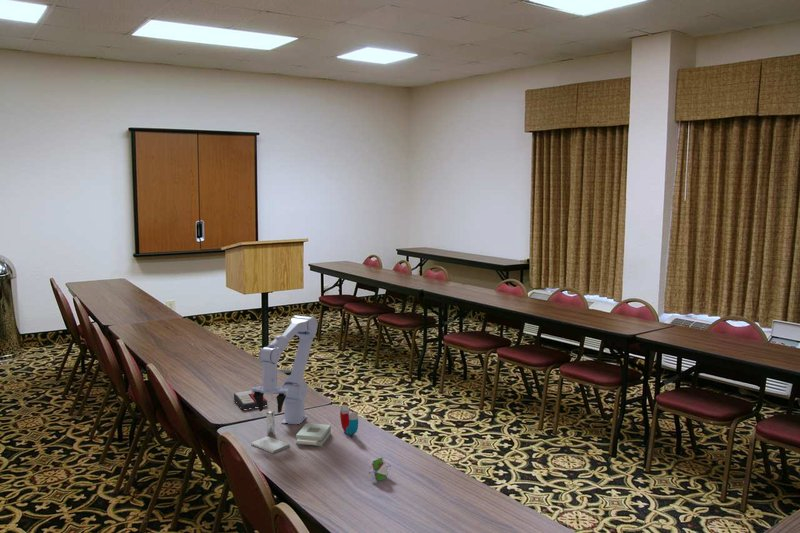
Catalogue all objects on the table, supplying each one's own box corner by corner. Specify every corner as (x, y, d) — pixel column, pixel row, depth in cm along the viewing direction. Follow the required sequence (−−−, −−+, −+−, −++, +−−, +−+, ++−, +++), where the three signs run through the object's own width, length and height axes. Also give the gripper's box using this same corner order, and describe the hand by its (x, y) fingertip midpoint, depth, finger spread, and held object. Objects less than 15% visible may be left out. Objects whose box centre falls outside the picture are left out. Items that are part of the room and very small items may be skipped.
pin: (268, 432, 248) (268, 410, 246) (275, 432, 247) (275, 411, 246) (265, 435, 245) (265, 413, 244) (272, 435, 244) (272, 413, 243)
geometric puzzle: (361, 470, 211) (371, 456, 207) (376, 463, 216) (386, 450, 211) (373, 488, 207) (383, 474, 203) (388, 481, 212) (398, 468, 208)
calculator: (242, 403, 270) (233, 391, 283) (242, 412, 271) (233, 400, 284) (267, 399, 276) (257, 388, 289) (267, 408, 277) (257, 396, 289)
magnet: (358, 437, 243) (358, 413, 242) (352, 439, 242) (352, 414, 240) (346, 427, 253) (346, 403, 252) (340, 428, 252) (339, 405, 251)
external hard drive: (273, 455, 228) (251, 446, 236) (289, 448, 235) (267, 439, 242) (273, 451, 228) (251, 442, 235) (289, 443, 234) (267, 435, 242)
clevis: (306, 431, 248) (306, 423, 248) (330, 433, 247) (330, 425, 246) (294, 446, 235) (294, 436, 234) (319, 448, 233) (319, 439, 233)
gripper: (248, 379, 240) (248, 413, 242) (283, 382, 238) (284, 416, 239) (255, 374, 247) (256, 407, 249) (290, 376, 245) (290, 409, 246)
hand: (270, 411), depth 245 cm, fingers open, 7 cm apart
